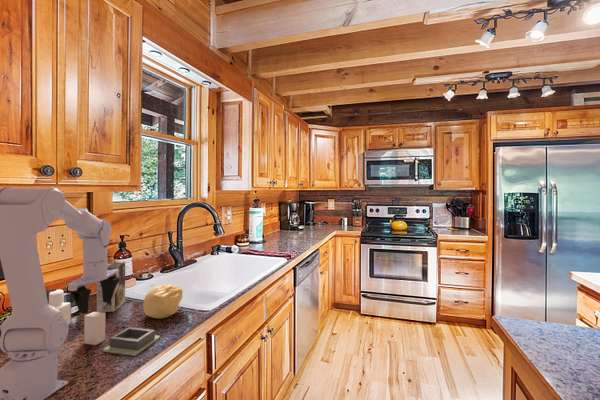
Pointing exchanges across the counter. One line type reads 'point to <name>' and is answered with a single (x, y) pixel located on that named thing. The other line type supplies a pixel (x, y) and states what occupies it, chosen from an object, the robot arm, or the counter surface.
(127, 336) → the socket board
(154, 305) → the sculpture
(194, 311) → the counter surface
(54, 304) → the white stepped block
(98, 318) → the keyed plug
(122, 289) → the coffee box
